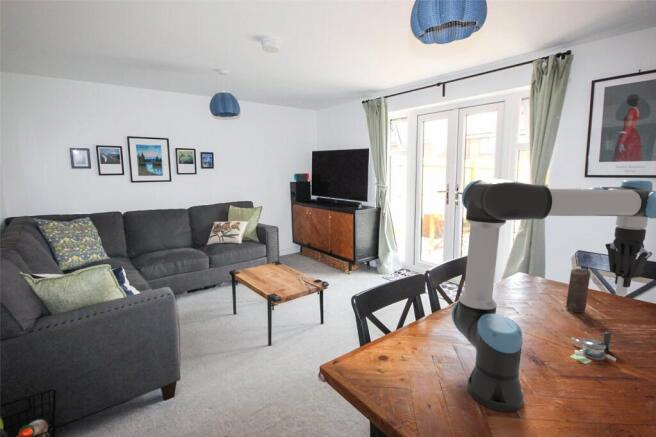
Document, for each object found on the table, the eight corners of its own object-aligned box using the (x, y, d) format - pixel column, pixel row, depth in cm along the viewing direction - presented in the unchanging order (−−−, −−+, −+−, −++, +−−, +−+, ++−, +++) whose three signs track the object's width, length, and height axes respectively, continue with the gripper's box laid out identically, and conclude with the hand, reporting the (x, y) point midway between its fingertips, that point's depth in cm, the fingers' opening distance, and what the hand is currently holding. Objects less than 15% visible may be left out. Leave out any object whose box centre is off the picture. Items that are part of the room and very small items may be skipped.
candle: (588, 315, 151) (594, 273, 147) (570, 314, 152) (575, 272, 149) (579, 308, 158) (584, 267, 155) (562, 306, 160) (567, 267, 156)
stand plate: (601, 375, 109) (601, 372, 109) (560, 355, 121) (560, 351, 120) (634, 360, 117) (634, 357, 117) (592, 342, 129) (593, 339, 128)
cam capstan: (629, 359, 115) (632, 342, 114) (596, 370, 110) (599, 352, 108) (585, 339, 129) (587, 323, 127) (554, 347, 123) (556, 330, 122)
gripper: (662, 230, 103) (651, 301, 107) (619, 223, 116) (610, 287, 120) (644, 231, 102) (633, 303, 106) (601, 224, 115) (593, 288, 119)
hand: (620, 294), depth 113 cm, fingers closed
